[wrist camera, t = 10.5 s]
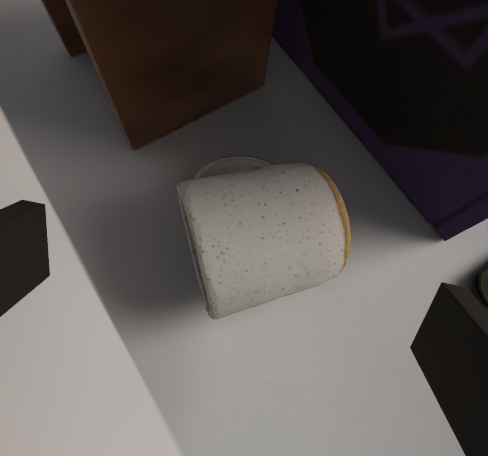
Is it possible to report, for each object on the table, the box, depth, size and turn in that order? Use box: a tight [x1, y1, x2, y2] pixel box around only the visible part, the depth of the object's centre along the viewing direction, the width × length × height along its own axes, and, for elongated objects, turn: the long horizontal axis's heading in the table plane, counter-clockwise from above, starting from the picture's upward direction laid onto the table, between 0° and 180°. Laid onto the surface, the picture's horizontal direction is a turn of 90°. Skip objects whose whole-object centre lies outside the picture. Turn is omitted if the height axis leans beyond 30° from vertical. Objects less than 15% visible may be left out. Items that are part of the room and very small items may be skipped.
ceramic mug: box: [177, 156, 351, 319], centre depth 19 cm, size 11×8×8 cm
